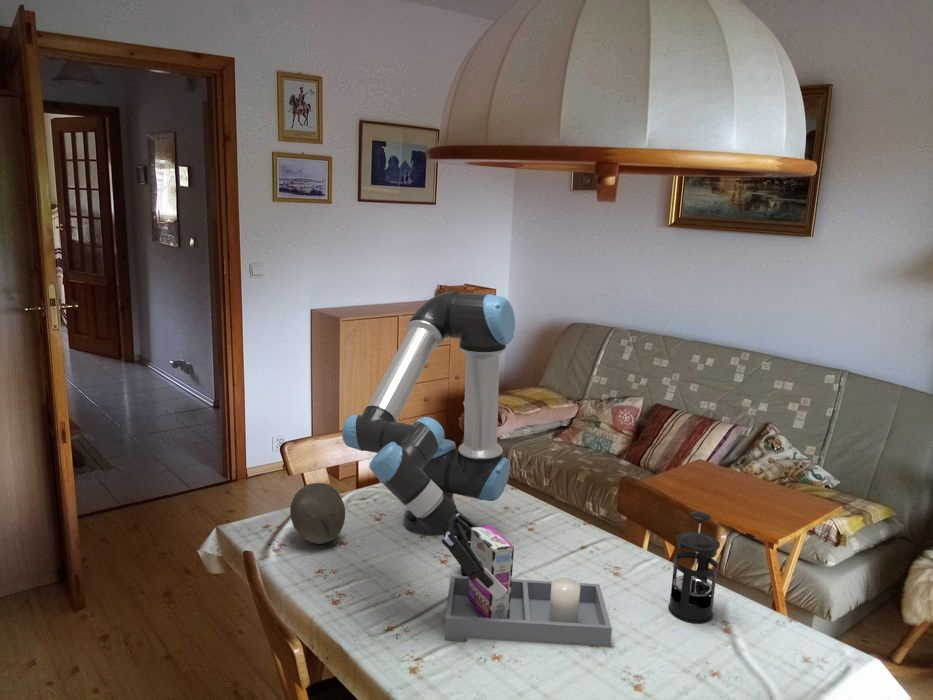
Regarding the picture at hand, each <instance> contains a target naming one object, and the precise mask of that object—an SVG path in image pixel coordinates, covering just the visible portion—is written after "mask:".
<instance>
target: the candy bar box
mask: <svg viewBox="0 0 933 700" xmlns="http://www.w3.org/2000/svg"><path fill="white" fill-rule="evenodd" d="M470 548H471V549H472V551H473V552H474V554H475V556H476V557H477V559H478V560H479V562H480V563H481V565H482V567H483V568H485V567H486V568H487V569H488V570H489V571H490V572H491V574H492V575H493V576H494V577H495V578H496V579H497V580H498V581H499V582H500V583H501V584H502V585H503V586H504V587H505V588H506V589H507V592H506V593H505V594H504V595H502V596H501V597H500V598H499V599H496V598H495V597H494V596H493V595H492V594H491V593H490V592H489V591H488V590H487V589H486V588H485V587H484V586H483V585H482V584H481V583H480V582H479V581H478V580H477V579H474V580H473V581H472V580H470V578H469V576H468V595H467V597H468V599H469V600H470V601H471V602H472V604H473V605H474V606H475V607H476V608H477V609H478V611H479V612H480V613H481V614H482V615H483V616H484V618H497V619H509V613H510V597H511V581H512V579H513V568H514V567H513V566H514V555H515V554H514V551H515V549H514V548H515V546H514V545H513V544H512V543H511V542H510V541H509V540H508V539H506V538H505V537H504V536H503V535H502V534H501V533H500V532H498V531H497V530H496V529H495V528H494V527H493V526H492V525H491V524H487V525H480V526H478V527H474V528H471V540H470ZM474 571H475V570H474Z"/></svg>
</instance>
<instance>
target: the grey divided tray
mask: <svg viewBox="0 0 933 700" xmlns="http://www.w3.org/2000/svg"><path fill="white" fill-rule="evenodd" d="M552 581H553V580H552ZM552 581H549V580H536V579H535V580H534V579H533V580H532V579H517V578H512V581H511V597H510V613H509V619H497V618H484V616H483V615H482V614H481V613H480V612H479V611H478V609H477V608H476V607H475V606H474V605H473V604H472V602H471V601H470V600H469V599H468V597H467V595H468V576H462V575H450V580H449V587H448V593H447V595H448V596H447V604H446V612H445V621H444V623H445V624H444V641H455V642H468V639H475V640H478V639H479V640H496V641H509V642H510V641H511V642H528V643H546V644H559V645H560V644H561V645H574V646H575V645H577V646H591V647H593V646H594V647H608V648H609V647H611V641H612V631H613V630H612V629H613V628H612V624H611V621H610V617H609V613H608V611H607V607H606V602H605V599H604V596H603V592H602V588H601V585H600V584H599V583H588V582H587V583H584V582H578V583H579V584H580V598H579V611H578V623H563V622H550V620H549V611H550V597H551V583H552Z"/></svg>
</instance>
